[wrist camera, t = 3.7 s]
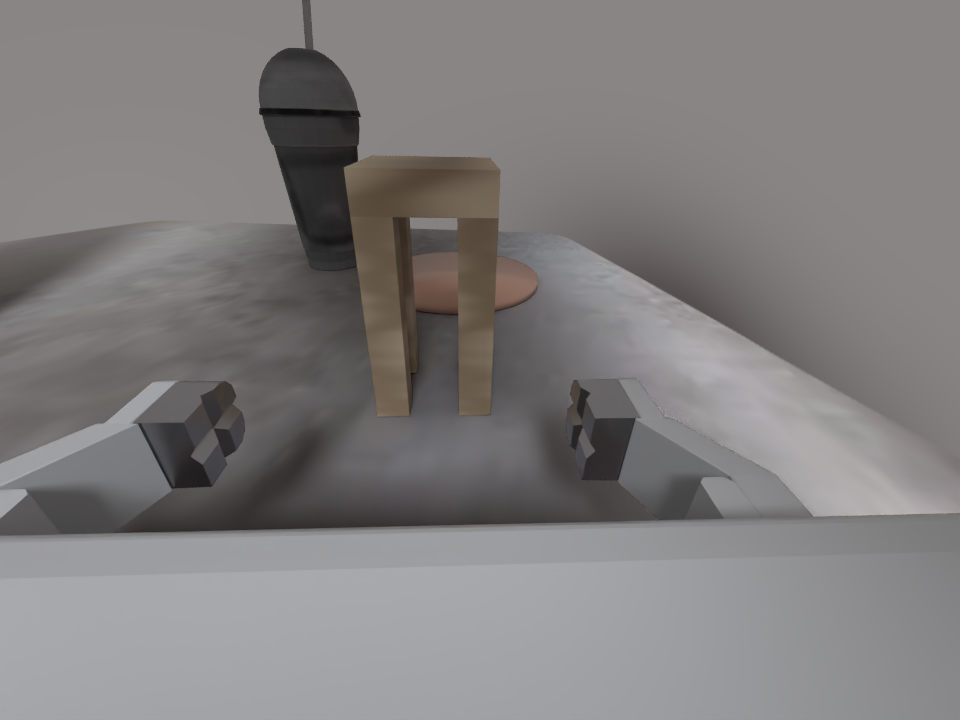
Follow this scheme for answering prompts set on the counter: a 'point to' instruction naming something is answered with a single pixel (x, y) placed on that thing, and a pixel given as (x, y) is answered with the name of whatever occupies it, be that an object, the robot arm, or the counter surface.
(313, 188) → the beverage cup
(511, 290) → the coaster
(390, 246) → the stool
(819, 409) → the counter surface
